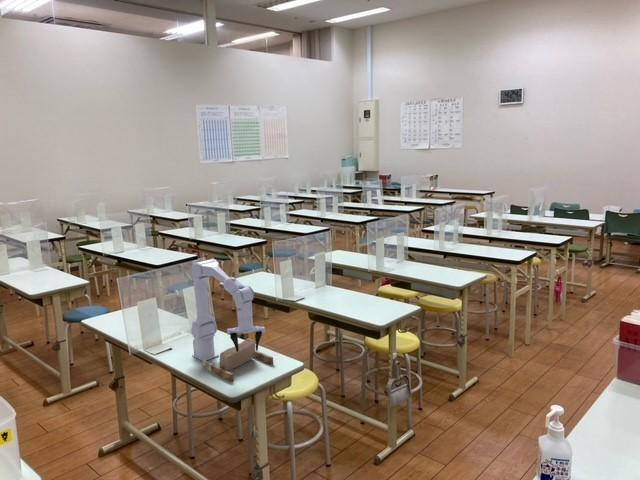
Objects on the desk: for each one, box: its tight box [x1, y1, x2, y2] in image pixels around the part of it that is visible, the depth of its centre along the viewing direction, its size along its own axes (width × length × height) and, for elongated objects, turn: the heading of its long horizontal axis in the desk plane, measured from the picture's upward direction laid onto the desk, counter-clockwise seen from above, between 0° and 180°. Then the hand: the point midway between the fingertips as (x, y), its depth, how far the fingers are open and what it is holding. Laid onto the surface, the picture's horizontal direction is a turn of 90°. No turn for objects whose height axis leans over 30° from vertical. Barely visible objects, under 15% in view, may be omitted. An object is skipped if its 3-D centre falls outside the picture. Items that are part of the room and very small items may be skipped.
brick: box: [218, 337, 256, 372], centre depth 208 cm, size 16×8×5 cm
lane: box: [202, 349, 274, 383], centre depth 208 cm, size 20×22×3 cm
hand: (247, 350), depth 198 cm, fingers open, 7 cm apart
